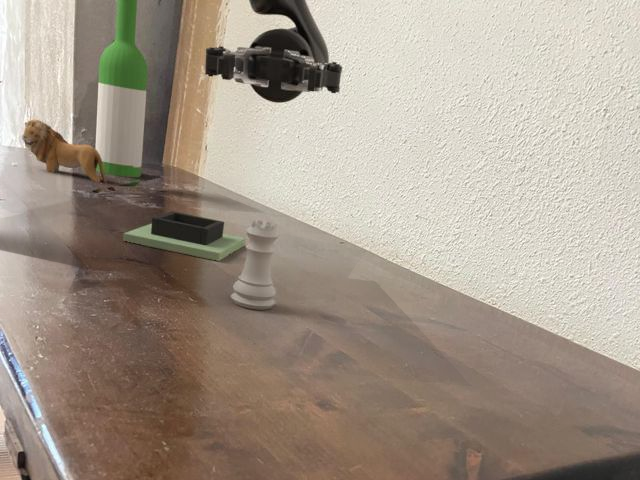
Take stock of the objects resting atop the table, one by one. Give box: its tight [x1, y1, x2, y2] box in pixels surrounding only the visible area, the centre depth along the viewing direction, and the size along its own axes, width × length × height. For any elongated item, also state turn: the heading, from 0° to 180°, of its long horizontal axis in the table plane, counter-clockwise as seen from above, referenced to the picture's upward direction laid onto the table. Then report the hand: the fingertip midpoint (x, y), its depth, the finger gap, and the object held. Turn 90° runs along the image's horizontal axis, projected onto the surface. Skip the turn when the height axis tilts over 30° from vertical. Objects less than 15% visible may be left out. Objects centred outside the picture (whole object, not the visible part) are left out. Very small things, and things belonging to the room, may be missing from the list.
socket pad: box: [123, 210, 246, 262], centre depth 94 cm, size 12×12×3 cm
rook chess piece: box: [230, 219, 280, 311], centre depth 73 cm, size 4×4×8 cm
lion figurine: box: [21, 119, 116, 194], centre depth 116 cm, size 15×5×9 cm, turn 88°
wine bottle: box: [94, 0, 148, 187], centre depth 123 cm, size 8×8×30 cm
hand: (269, 73), depth 74 cm, fingers open, 8 cm apart
